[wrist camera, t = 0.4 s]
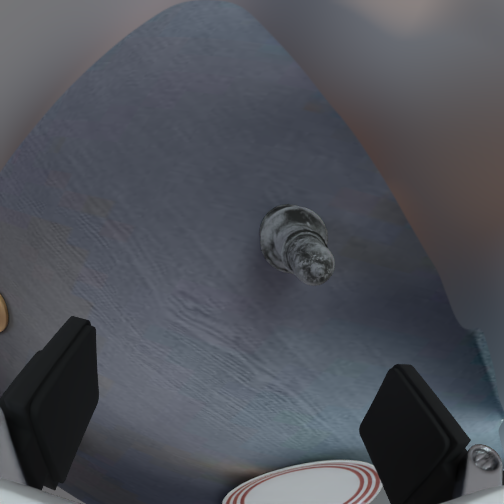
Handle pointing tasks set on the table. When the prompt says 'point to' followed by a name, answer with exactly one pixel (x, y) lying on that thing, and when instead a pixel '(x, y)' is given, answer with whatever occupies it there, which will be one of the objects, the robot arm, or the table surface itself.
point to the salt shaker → (297, 243)
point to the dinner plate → (311, 485)
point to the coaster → (3, 314)
